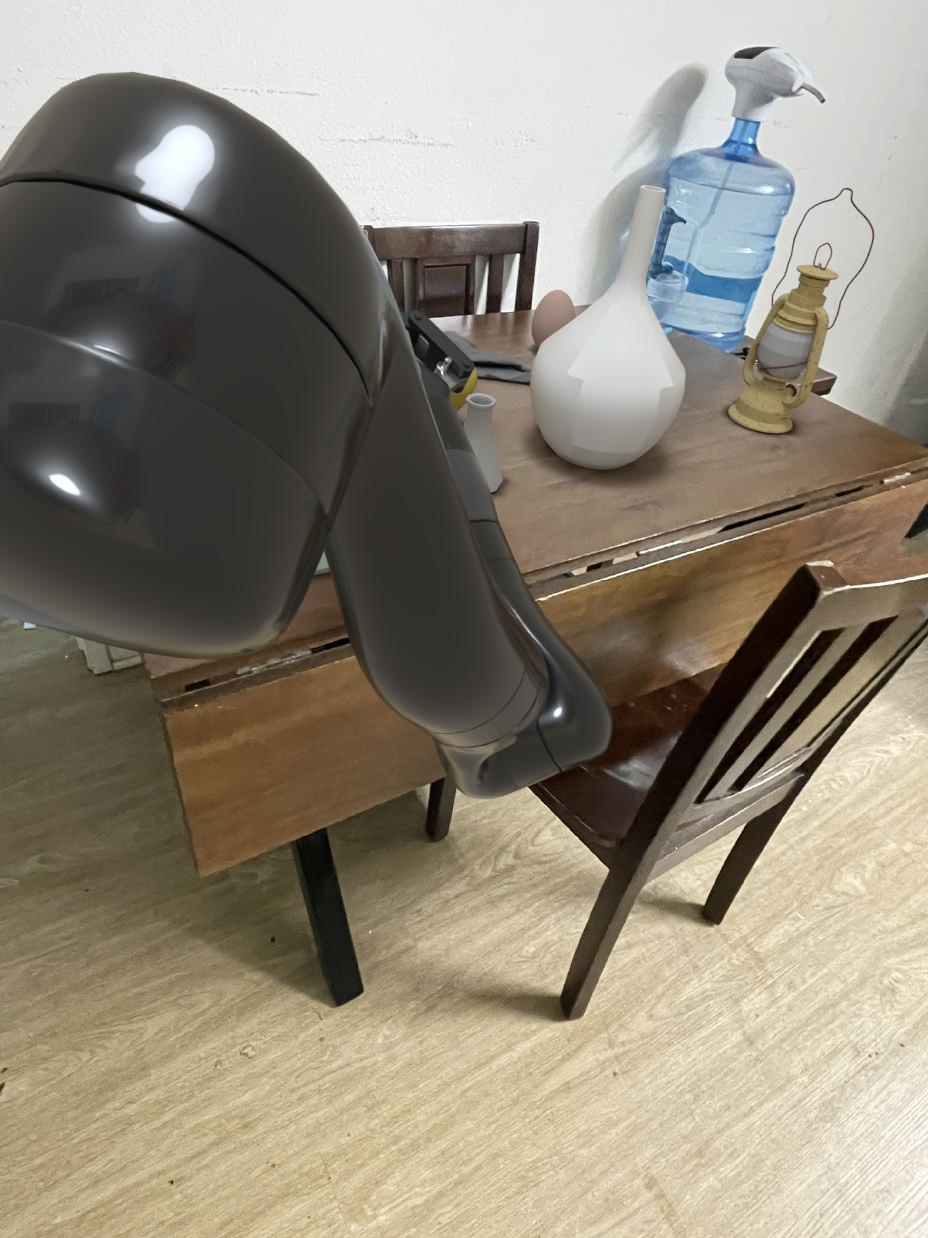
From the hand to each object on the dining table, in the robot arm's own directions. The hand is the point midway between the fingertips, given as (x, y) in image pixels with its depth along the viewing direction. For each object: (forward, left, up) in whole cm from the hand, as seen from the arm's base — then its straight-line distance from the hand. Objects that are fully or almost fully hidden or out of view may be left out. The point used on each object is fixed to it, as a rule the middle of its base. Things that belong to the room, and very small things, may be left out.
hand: (340, 275), depth 53 cm
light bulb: (+20, +29, -27) cm, 44 cm away
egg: (+45, +53, -27) cm, 74 cm away
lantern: (+68, +27, -27) cm, 78 cm away
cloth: (+29, +51, -27) cm, 64 cm away
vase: (+37, +21, -27) cm, 50 cm away
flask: (+19, +16, -27) cm, 37 cm away
